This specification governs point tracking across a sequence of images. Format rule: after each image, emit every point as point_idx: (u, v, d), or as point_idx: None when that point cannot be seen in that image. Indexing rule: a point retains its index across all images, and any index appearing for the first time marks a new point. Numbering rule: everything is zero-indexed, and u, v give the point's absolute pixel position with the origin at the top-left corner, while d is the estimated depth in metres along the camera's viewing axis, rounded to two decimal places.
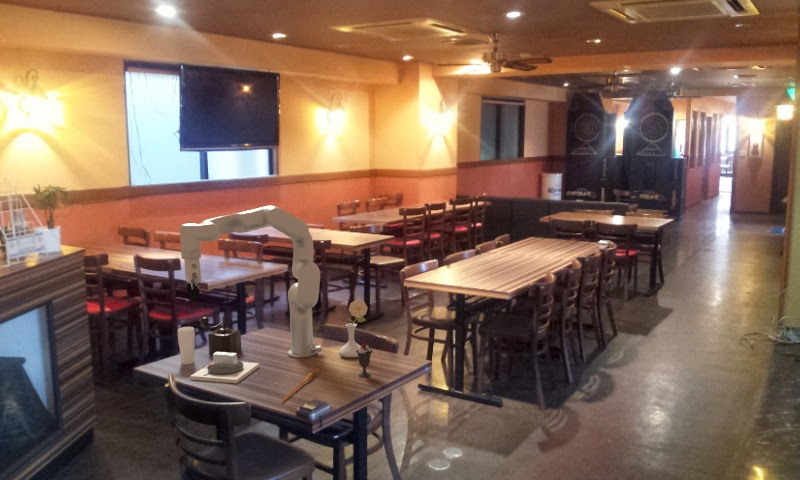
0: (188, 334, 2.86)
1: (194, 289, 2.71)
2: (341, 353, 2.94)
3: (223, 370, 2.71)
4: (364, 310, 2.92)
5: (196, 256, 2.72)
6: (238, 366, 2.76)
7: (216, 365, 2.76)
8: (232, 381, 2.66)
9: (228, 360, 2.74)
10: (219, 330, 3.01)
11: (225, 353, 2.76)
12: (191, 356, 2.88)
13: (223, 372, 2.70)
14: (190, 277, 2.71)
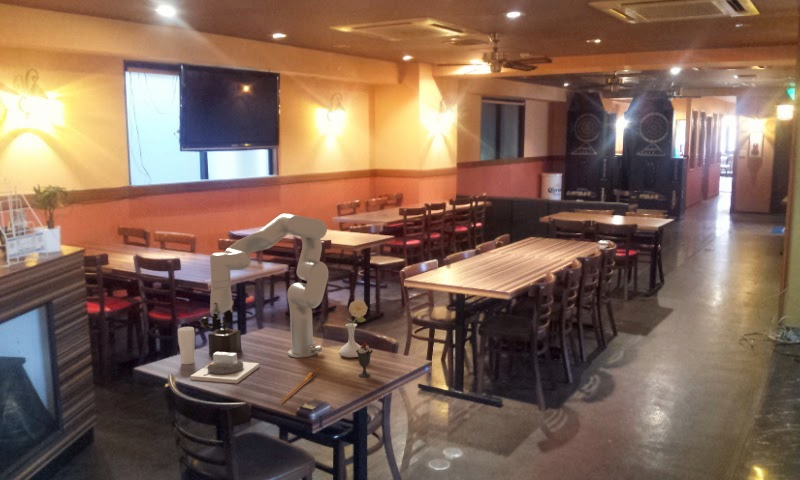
0: (188, 334, 2.86)
1: None
2: (341, 353, 2.94)
3: (223, 370, 2.71)
4: (364, 310, 2.92)
5: None
6: (238, 366, 2.76)
7: (216, 365, 2.76)
8: (232, 381, 2.66)
9: (228, 360, 2.74)
10: (219, 330, 3.01)
11: (225, 353, 2.76)
12: (191, 356, 2.88)
13: (223, 372, 2.70)
14: None
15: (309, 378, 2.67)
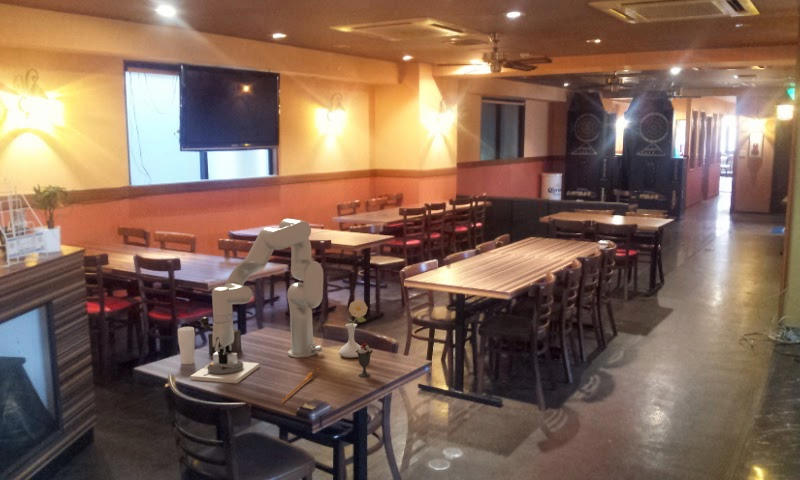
0: (188, 334, 2.86)
1: None
2: (341, 353, 2.94)
3: (223, 370, 2.71)
4: (364, 310, 2.92)
5: None
6: (238, 366, 2.76)
7: (216, 365, 2.76)
8: (232, 381, 2.66)
9: (228, 360, 2.74)
10: None
11: (225, 353, 2.76)
12: (191, 356, 2.88)
13: (223, 372, 2.70)
14: None
15: (309, 378, 2.67)
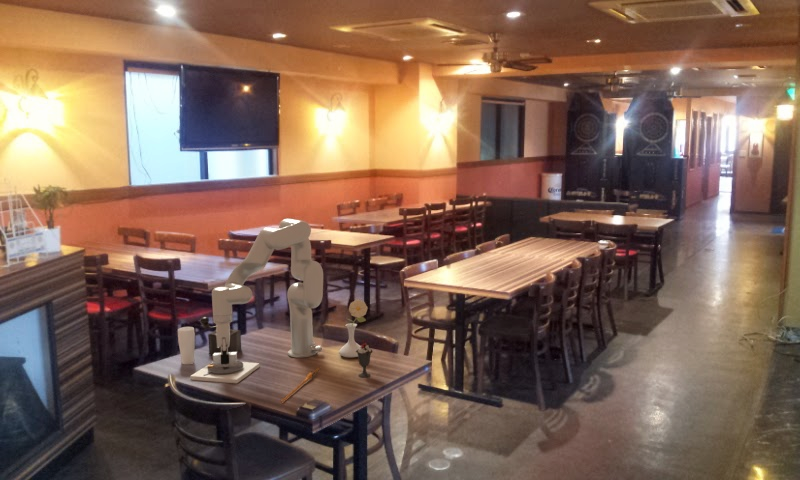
0: (188, 334, 2.86)
1: None
2: (341, 353, 2.94)
3: (229, 369, 2.72)
4: (364, 310, 2.92)
5: None
6: (239, 364, 2.78)
7: (217, 366, 2.75)
8: (232, 381, 2.66)
9: (231, 360, 2.75)
10: None
11: None
12: (191, 356, 2.88)
13: (229, 371, 2.71)
14: None
15: (309, 378, 2.67)
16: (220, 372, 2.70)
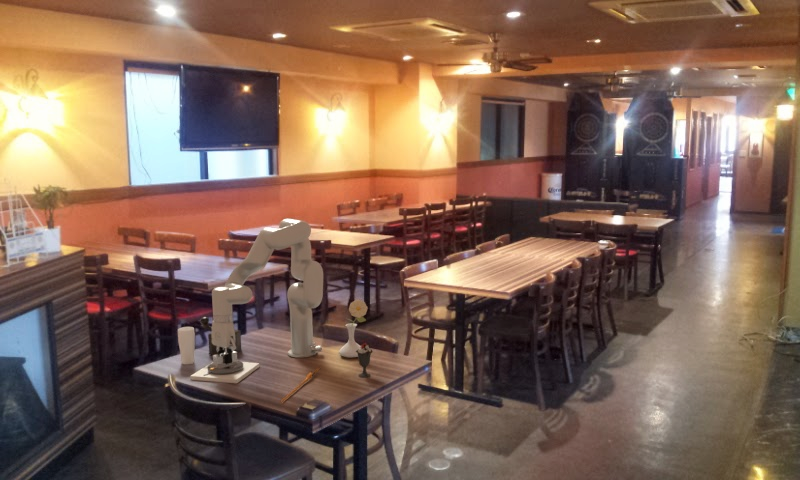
0: (188, 334, 2.86)
1: None
2: (341, 353, 2.94)
3: (237, 367, 2.74)
4: (364, 310, 2.92)
5: None
6: (237, 362, 2.81)
7: (220, 367, 2.73)
8: (232, 381, 2.66)
9: (232, 358, 2.77)
10: None
11: (224, 353, 2.76)
12: (191, 356, 2.88)
13: (239, 368, 2.74)
14: None
15: (309, 378, 2.67)
16: (232, 371, 2.71)
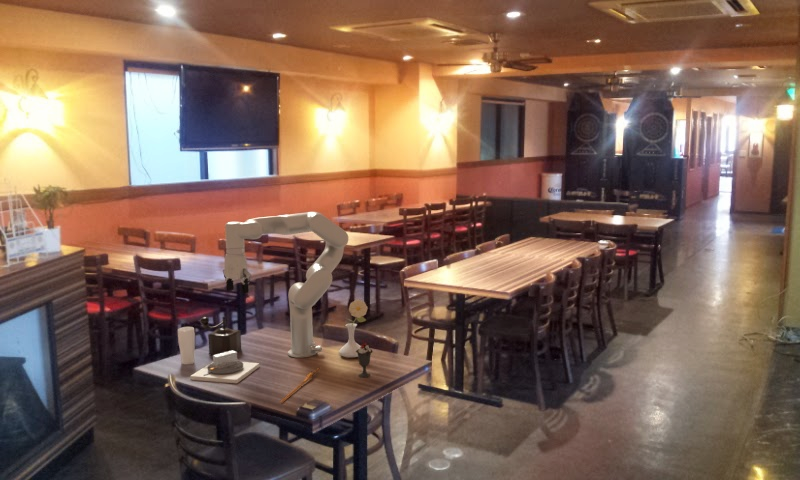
0: (188, 334, 2.86)
1: None
2: (341, 353, 2.94)
3: (237, 367, 2.74)
4: (364, 310, 2.92)
5: None
6: (237, 362, 2.81)
7: (220, 367, 2.73)
8: (232, 381, 2.66)
9: (232, 358, 2.77)
10: (219, 330, 3.01)
11: (224, 353, 2.76)
12: (191, 356, 2.88)
13: (239, 368, 2.74)
14: None
15: (309, 378, 2.67)
16: (232, 371, 2.71)
